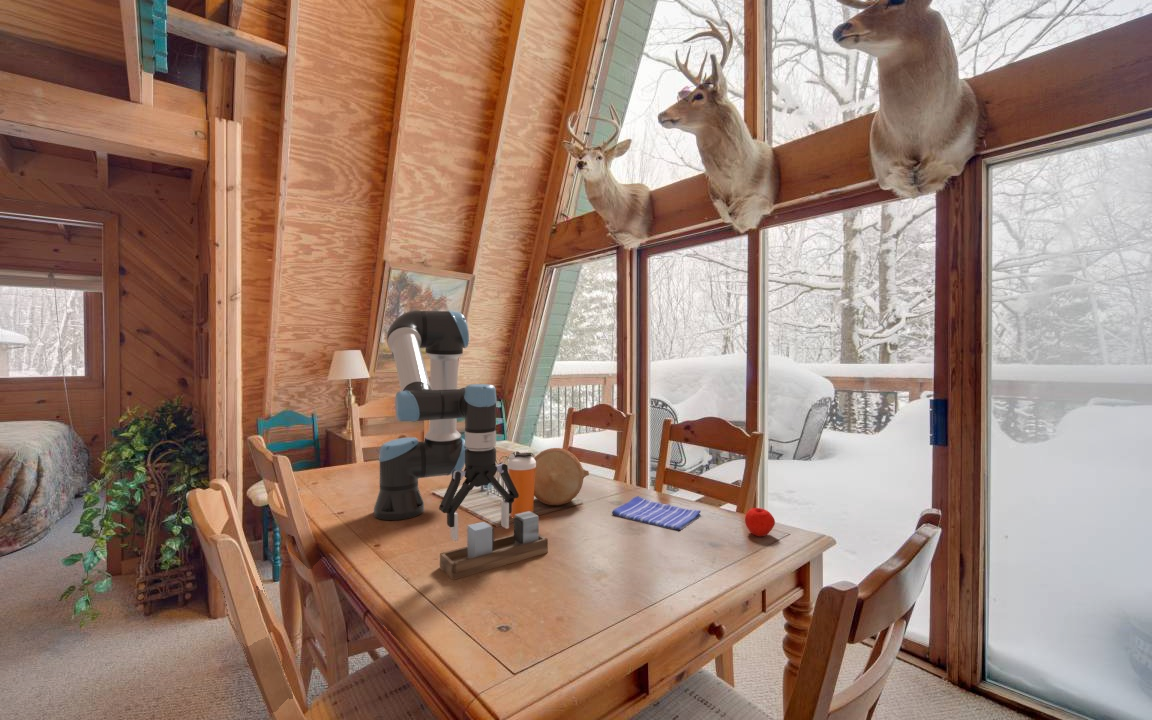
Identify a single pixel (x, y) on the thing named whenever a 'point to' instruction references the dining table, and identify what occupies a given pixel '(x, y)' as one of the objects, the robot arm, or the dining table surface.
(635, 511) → the dish towel
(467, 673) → the dining table surface
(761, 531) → the apple
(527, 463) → the shaker bottle
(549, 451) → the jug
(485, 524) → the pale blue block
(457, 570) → the rail
